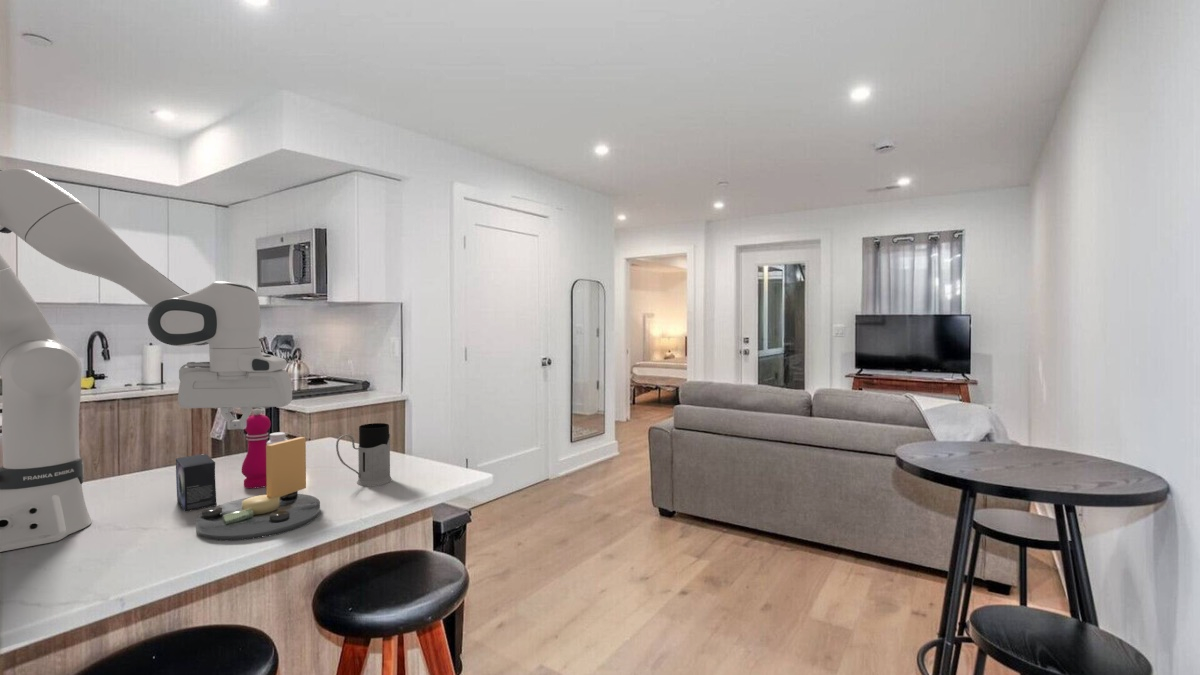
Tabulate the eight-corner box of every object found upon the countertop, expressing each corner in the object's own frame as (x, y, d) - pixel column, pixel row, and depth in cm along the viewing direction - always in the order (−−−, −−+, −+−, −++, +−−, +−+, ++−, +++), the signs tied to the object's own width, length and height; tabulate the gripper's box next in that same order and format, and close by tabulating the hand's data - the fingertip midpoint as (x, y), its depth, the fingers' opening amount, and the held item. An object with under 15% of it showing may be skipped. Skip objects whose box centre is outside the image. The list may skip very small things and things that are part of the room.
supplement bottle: (293, 466, 164) (293, 431, 164) (280, 471, 158) (280, 435, 158) (275, 465, 164) (275, 431, 164) (262, 471, 159) (261, 435, 159)
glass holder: (397, 481, 151) (397, 425, 150) (343, 493, 140) (343, 433, 140) (382, 474, 157) (382, 421, 156) (330, 485, 146) (329, 428, 146)
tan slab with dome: (257, 516, 117) (256, 452, 117) (234, 511, 120) (233, 449, 119) (315, 495, 131) (314, 438, 130) (292, 492, 133) (292, 435, 133)
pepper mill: (263, 489, 143) (262, 411, 142) (235, 488, 143) (233, 410, 142) (280, 481, 150) (279, 406, 149) (253, 480, 150) (252, 406, 149)
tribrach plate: (221, 550, 106) (221, 529, 106) (179, 522, 120) (179, 503, 120) (339, 516, 124) (339, 498, 124) (291, 495, 138) (291, 479, 138)
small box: (174, 501, 133) (173, 457, 133) (207, 495, 138) (206, 452, 137) (183, 512, 126) (182, 466, 125) (217, 505, 130) (216, 461, 130)
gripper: (169, 363, 109) (171, 433, 110) (283, 362, 113) (284, 430, 113) (187, 360, 115) (189, 427, 116) (294, 360, 119) (295, 424, 120)
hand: (237, 429), depth 115 cm, fingers closed
